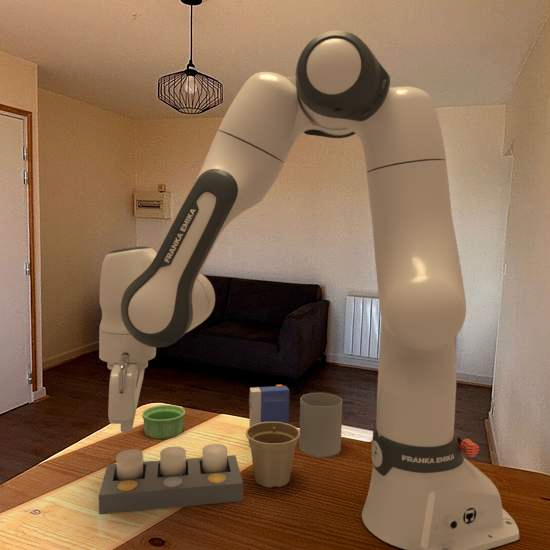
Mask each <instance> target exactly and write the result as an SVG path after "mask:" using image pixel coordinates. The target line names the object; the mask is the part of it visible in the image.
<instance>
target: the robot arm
mask: <svg viewBox="0 0 550 550" xmlns="http://www.w3.org/2000/svg"><path fill="white" fill-rule="evenodd" d="M390 84H391V77H390V75H389V73H388V72H387V70H386V69H385V68H384V66H383V65H382V64H381V63H380V61H379V60H378V59H377V57H376V56H375V54H374V52H373V51H372V50H371V49H370V48H369V46H368V45H367V44H366V43H365V42H364V40H362V39H361V38H360V37H359V36H357V35H355V34H353V32H349V31H347V30H340V29H335V30H328V31H325V32H322V33H320V34H319V35H318V34H317V36H315V37H314V38H313V39H311V40H310V41H308V43H307V44H306V46H304V48H303V50H302V51H301V53H300V54H299V57H298V60H297V63H296V69H295V75H294V76H293V77H289V76H284V75H282V74H279V73H276V72H273V71H260V72H256V73H254V74H252V75H251V76H249V78H248V79H247V80H246V81H245V82H244V84H243V85H242V86H241V88H240V89H239V91H238V92H237V94H236V96H235V97H234V98H233V101H232V102H231V104H230V106H229V108H228V109H227V111H226V113H225V114H224V116H223V119H222V120H221V123H220V124H219V127H218V130H217V132H216V134H215V136H214V138H213V140H212V142H211V145H210V147H209V150H208V152H207V154H206V156H205V159H204V161H203V164H202V166H201V169H200V171H199V173H198V175H197V176H196V178H195V181H194V183H193V186H192V188H191V190H190V191H189V193H188V195H186V198H185V201H184V202H183V204H182V205H181V206H180V209H179V211H178V212H177V214H176V217H175V218H174V221H173V223H172V224H171V226H170V228H169V229H168V232H167V234H166V236H165V238H164V240H163V242H162V244H161V245H160V247H159V248H158V249H159V250H158V251H157V252H156V250H155V249H154V248H152V247H149V246H145V245H143V246H135V247H133V246H132V247H125V248H119V249H118V248H117V249H114V250H111V251H110V252H109V253H107V254H106V255H105V257H104V259H103V262H102V265H101V270H100V281H99V282H100V283H99V306H100V309H101V320H100V324H99V333H98V334H99V336H98V337H99V341H98V343H99V345H98V347H99V350H98V351H99V352H98V356H99V359H100V360H101V361H102V362H105V363H107V369H108V370H110V375H109V384H108V385H109V388H108V409H107V410H108V412H107V414H108V416H107V417H108V421H109V424H111V425H115V424H116V425H120V431H121V432H122V433H130V432H132V431H133V426H134V421H135V418H136V413H137V409H138V403H139V398H140V394H141V388H142V384H143V382H144V381H143V380H144V376H145V375H144V374H145V369H146V368H148V366H149V361H151V360H153V359H155V357H156V355H157V348H165V347H168V346H172V345H173V344H175V343H177V342H178V341H179V340H181V338H182V337H184V336H185V334H186V333H188V332H190V331H192V330H193V329H195V328H196V327H198V326H199V325H201V324H202V323H204V321H206V320H207V319H208V318H209V317H210V316H211V314H212V313H213V311H214V309H215V306H216V291H215V289H214V286H213V284H212V283H211V281H210V279H208V277H207V276H205V275H204V274H203V273H201V272H202V270H203V268H204V266H205V265H206V263H207V260H208V259H209V257H210V255H211V253H212V251H213V249H214V246H215V245H216V243H217V241H218V239H219V237H220V236H221V234H222V232H223V231H224V230H225V229H226V227H227V226H228V225H229V224H230V223H231V222H233V221H234V220H235V218H237V217H239V216H240V215H241V214H243V213H244V212H246V211H247V210H250V209H251V208H253V207H254V206H256V205H258V204H259V203H261V202H262V201H263V199H264V198H265V196H266V195H267V194H268V192H270V190H271V188H273V186H274V184H275V182H276V180H277V179H278V177H279V176H280V173H281V171H282V169H283V167H284V164H285V162H286V161H287V158H288V156H289V154H290V153H291V149H292V148H293V145H294V144H295V142H296V141H297V139H298V138H299V137H300V136H301V134H302V133H304V134H305V135H307V136H316V137H323V138H330V139H344V138H348V137H351V136H354V135H356V136H358V138H359V140H360V142H361V144H362V149H363V152H364V160H365V161H364V162H365V171H366V180H367V187H368V188H367V190H368V198H369V207H370V213H371V214H370V215H371V216H370V217H371V223H372V225H371V226H372V234H373V235H372V236H373V248H374V249H373V250H374V259H375V261H374V262H375V272H376V281H377V294H378V300H379V312H380V335H379V336H380V337H379V339H380V340H379V353H378V354H379V358H378V374H377V395H376V396H377V397H376V419H375V420H376V421H375V422H376V423H375V424H374V425H373V428H372V430H373V431H372V440H371V441H372V443H371V463H372V471H371V478H370V484H369V487H368V493H367V495H366V496H367V497H366V499H365V502H364V506H363V508H362V511H361V518H362V519H361V520H362V522H363V524H364V526H365V527H366V529H367V530H368V531H369V532H370V533H371V534H372V535H374V536H375V537H377V538H378V539H380V540H381V541H383V542H384V543H386V544H388V545H391V546H394V547H397V548H400V549H403V550H491V549H493V548H496V547H500V546H504V545H507V544H509V543H513V542H516V541H518V540H519V539H520V530H519V527H518V525H517V523H516V521H515V520H514V518H513V517H512V516H511V515H510V514H509V513H508V512H507V511H506V509H504V508H503V503H502V499H501V494H500V493H499V490H498V488H497V486H496V485H495V483H494V482H493V481H492V480H491V479H490V478H489V477H488V476H487V475H486V474H485V473H484V472H482V471H481V470H480V469H478V468H477V467H476V465H474V464H473V463H471V462H470V461H469V460H468V459H466V458H465V457H464V454H463V453H465V454H466V455H467V456H468V457H470V458H475V457H476V456H478V454H479V451H480V449H479V448H480V447H479V445H478V444H477V443H475V442H473V441H472V440H471V439H470V438H464V439H463V436H462V435H461V434H459V433H457V432H456V431H455V415H456V398H457V397H456V395H457V376H456V375H457V374H456V373H457V372H456V344H455V343H456V342H455V341H456V337H457V335H458V334H459V333H460V331H461V330H462V328H463V326H464V322H465V321H466V315H467V302H466V295H465V294H466V293H465V288H464V287H465V286H464V281H463V279H464V278H463V273H462V266H461V260H460V254H459V253H460V252H459V249H458V243H457V237H456V231H455V227H454V221H453V214H452V213H453V212H452V205H451V194H450V186H449V185H450V184H449V175H448V165H447V158H446V157H447V156H446V149H445V144H444V143H445V142H444V137H443V134H442V133H443V132H442V129H441V124H440V121H439V117H438V112H437V111H436V107H435V104H434V101H433V99H432V97H431V96H430V94H429V93H428V92H426V91H425V90H423V89H421V88H419V87H415V86H396V87H395V86H394V87H392V86H391V87H390Z"/></svg>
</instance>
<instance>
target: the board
mask: <svg viewBox="0 0 550 550" xmlns="http://www.w3.org/2000/svg"><path fill="white" fill-rule="evenodd" d="M242 478H243V477H242V475H241V470H240V467H239V463H238V460H237V456H236V454H232V455H230V454H229V455H227V470H226V471H224V472H222V473H210V474H208V473H205V472H204V471H203V470H202V457H191V458H186V472H185V473H184V474H183V475H181V476H172V477H164V476H162V475H161V474H160V460H150V461H143V475H142V476H141V477H140V478H138V479H134V480H119V479H118V478H117V463H110V464H109V463H108V464H107V465H106V468H105V472H104V476H103V479H102V483H101V485H100V489H99V493H98V515H104V514H114V513H125V512H126V513H127V512H136V511H137V512H138V511H148V510H156V509H157V510H159V509H168V508H169V509H170V508H182V507H189V506H192V507H194V506H203V505H212V504H214V505H215V504H223V503H226V504H227V503H235V502H243V501H244V481H243V479H242Z"/></svg>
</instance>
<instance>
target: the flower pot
mask: <svg viewBox="0 0 550 550" xmlns="http://www.w3.org/2000/svg"><path fill="white" fill-rule="evenodd" d="M245 436H246V438H247V439H248V445H249V444H250V446H251V448H250V452H251V453H250V454H251V459H252V461H251V462H252V466H253V467H252V468H253V478H254V481H255V483H257V484H258V485H260V486H262V487H265V488H270V489H271V488H273V487H278V488H280V487H284V486H286V485H287V484H288V483H290V480H291V473H292V466H293V461H294V455H295V450H296V446H297V444H298V441H299V437H300V428H299V429H298V428H297V426H295V425H293V424H290V423H289V424H287V423H282V422H261V423H257V424H254V425H252V426H250V427H248V428H247V429H246V430H245ZM250 446H249V447H250Z"/></svg>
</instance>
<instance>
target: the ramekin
mask: <svg viewBox="0 0 550 550" xmlns="http://www.w3.org/2000/svg"><path fill="white" fill-rule="evenodd" d="M141 415H142V419H143V429H144V430H143V431H144V434H145V435H146V436H147V437H148V438H152V439H158V440H160V439H161V440H162V439H164V440H165V439H171V438H174V437H176V436H179V435H180V434H182V432H183V429H184V419H185V415H186V409H185V408H183V407H181V406H178V405H175V404H173V405H172V404H159V405H154V406H150V407H148V408H146V409H145V410H143V411H142V414H141Z"/></svg>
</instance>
